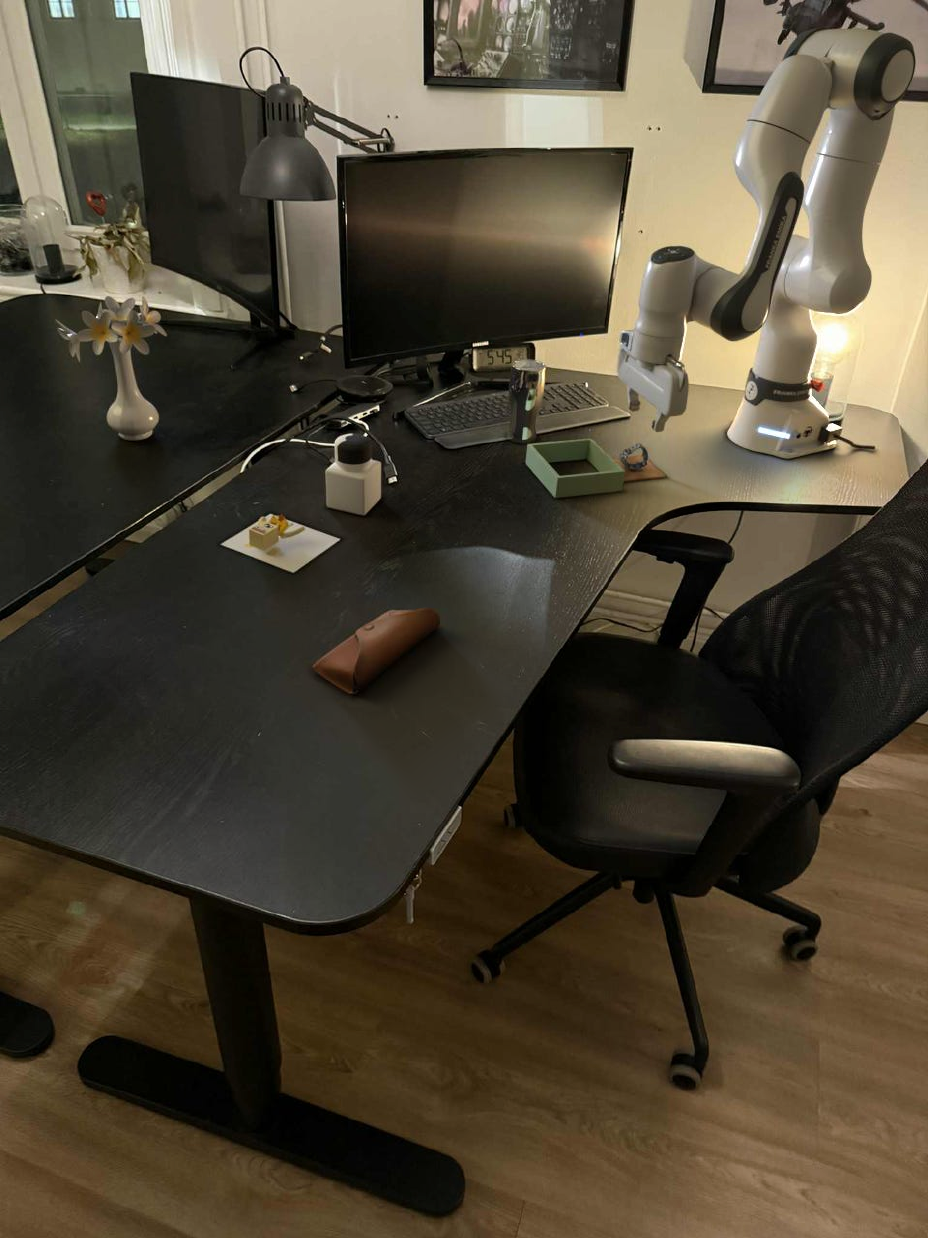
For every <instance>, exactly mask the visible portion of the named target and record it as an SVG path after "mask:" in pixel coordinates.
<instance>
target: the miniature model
mask: <svg viewBox="0 0 928 1238" xmlns="http://www.w3.org/2000/svg"><path fill="white" fill-rule="evenodd" d="M340 540H341V538H338V537H336V536H333V535H330V534H328V533H324V532H321V531H319V530H316V529H313V528H311V527H307V526H305V525H302V524H299V523H297V522H294V521H291V520H288V519H286V517H285V516H284V515H283V514H281V513H280V515H278V514H277V515H275V514H273V513H269V514H268V515H266V516H261V517H260V518H259V519H258V521H256V522H254V523H253V524H251V525H249V526H248V527H247V528H245V529H243V530H241V531H240V532H239V533H237V534H235V535H233V536H232V537H230V538H229V539H227V540H225V541H223V542H222V543H220V545H221V546H223V547H225V548H229V549H231V550H234V551H236V552H239V553H242V554H243V555H246V556H249V557H252V558H254V559H256V560H260V561H261V562H265V563H267V564H270V565H272V566H275V567H276V568H279V569H282V570H285V571H287V572H291V573H295V572H297V571H298V570H299V569H301V568H302V567H304V566H305V565H306V564H308V563H310V561H312V560H314V559H316V558H317V557H318V556H319V555H320V554H322V553H324V552H325V551H327V550H328V549H329V548H331V547H332V546H333V545H335V544H337V542H339V541H340Z"/></svg>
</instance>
